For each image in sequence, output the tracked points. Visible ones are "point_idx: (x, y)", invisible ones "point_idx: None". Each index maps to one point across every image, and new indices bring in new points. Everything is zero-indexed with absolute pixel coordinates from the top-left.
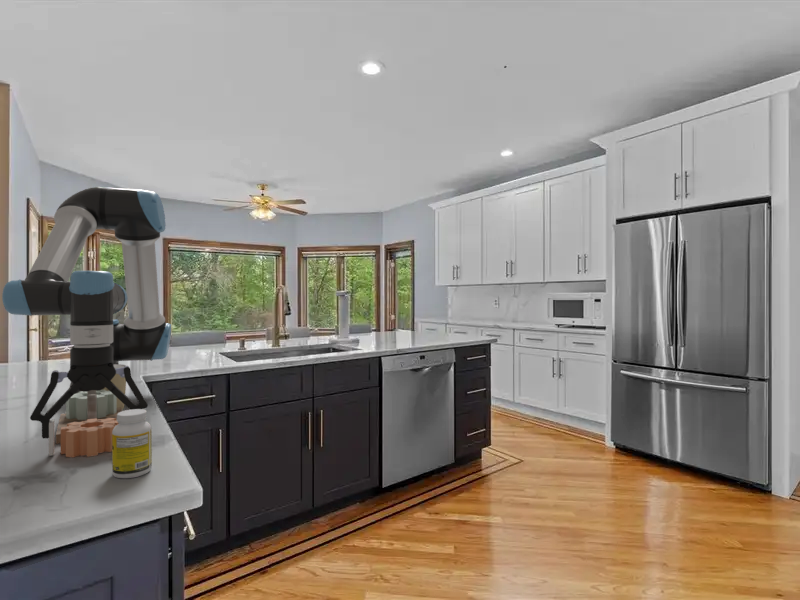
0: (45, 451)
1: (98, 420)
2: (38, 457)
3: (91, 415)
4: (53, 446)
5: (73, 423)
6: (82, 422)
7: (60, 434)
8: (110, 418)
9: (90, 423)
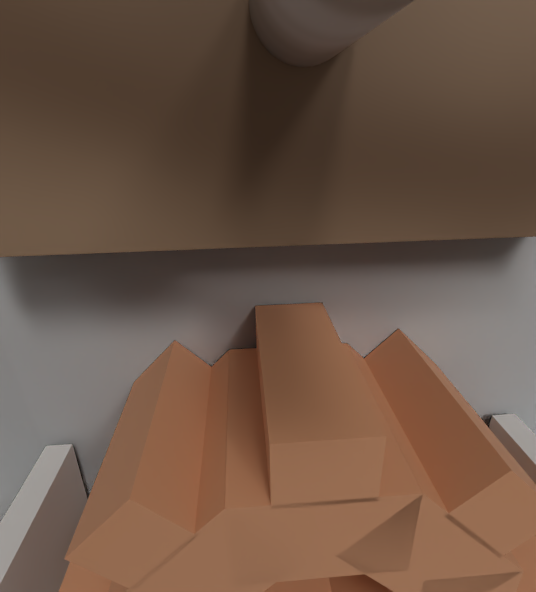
0: (5, 394)
1: (387, 536)
2: (8, 489)
3: (331, 35)
4: (68, 561)
5: (133, 562)
6: (226, 557)
7: (8, 254)
8: (514, 502)
9: (303, 567)
